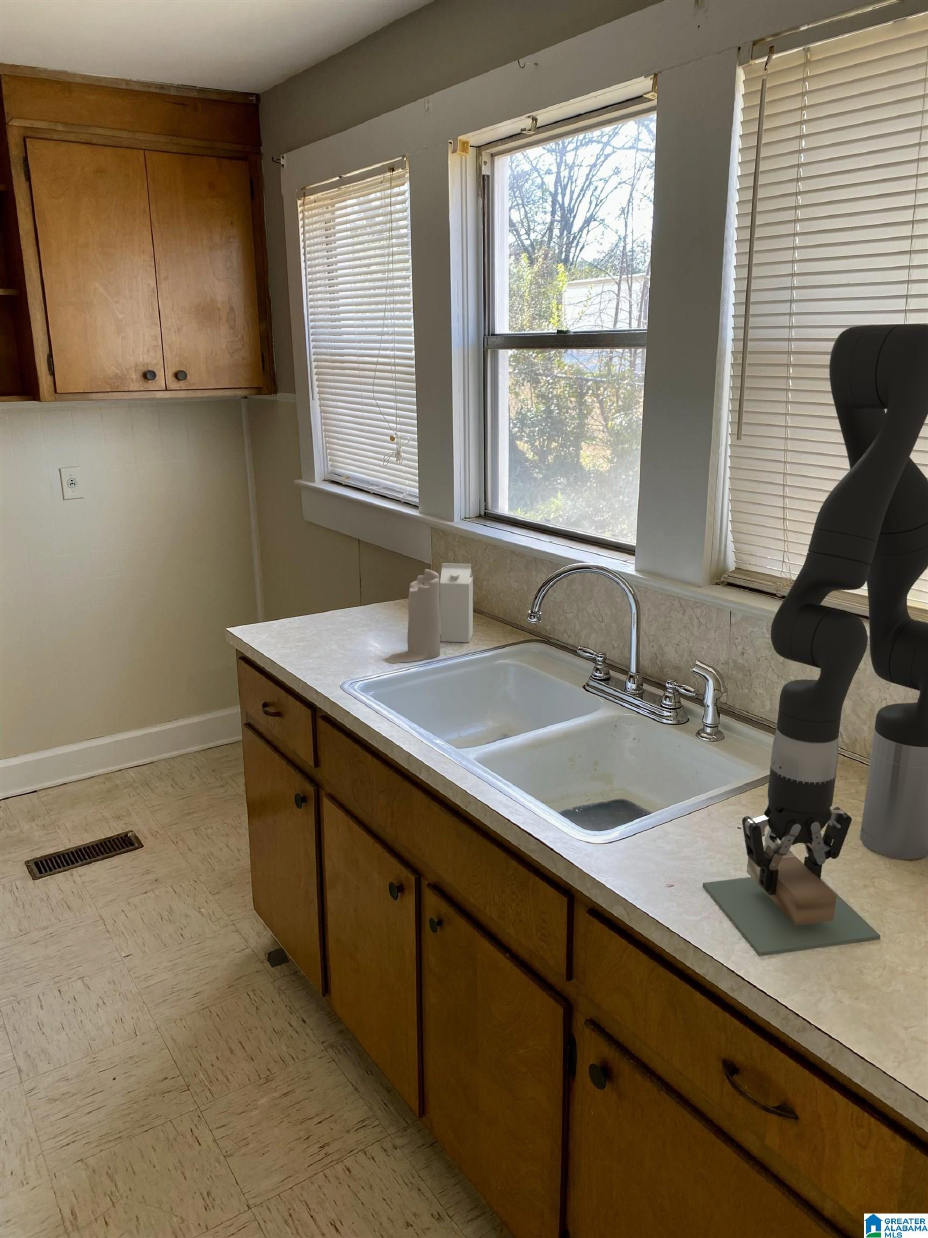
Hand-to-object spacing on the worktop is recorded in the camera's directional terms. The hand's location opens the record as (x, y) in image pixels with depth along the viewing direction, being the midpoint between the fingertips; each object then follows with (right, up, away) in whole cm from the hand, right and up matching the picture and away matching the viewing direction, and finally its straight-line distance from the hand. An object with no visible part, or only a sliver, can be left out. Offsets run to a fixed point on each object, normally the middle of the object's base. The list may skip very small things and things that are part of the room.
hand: (789, 888), depth 116 cm
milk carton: (-43, +29, +112) cm, 124 cm away
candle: (-53, +25, +98) cm, 115 cm away
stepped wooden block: (0, -1, 0) cm, 1 cm away
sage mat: (0, -3, +1) cm, 3 cm away
